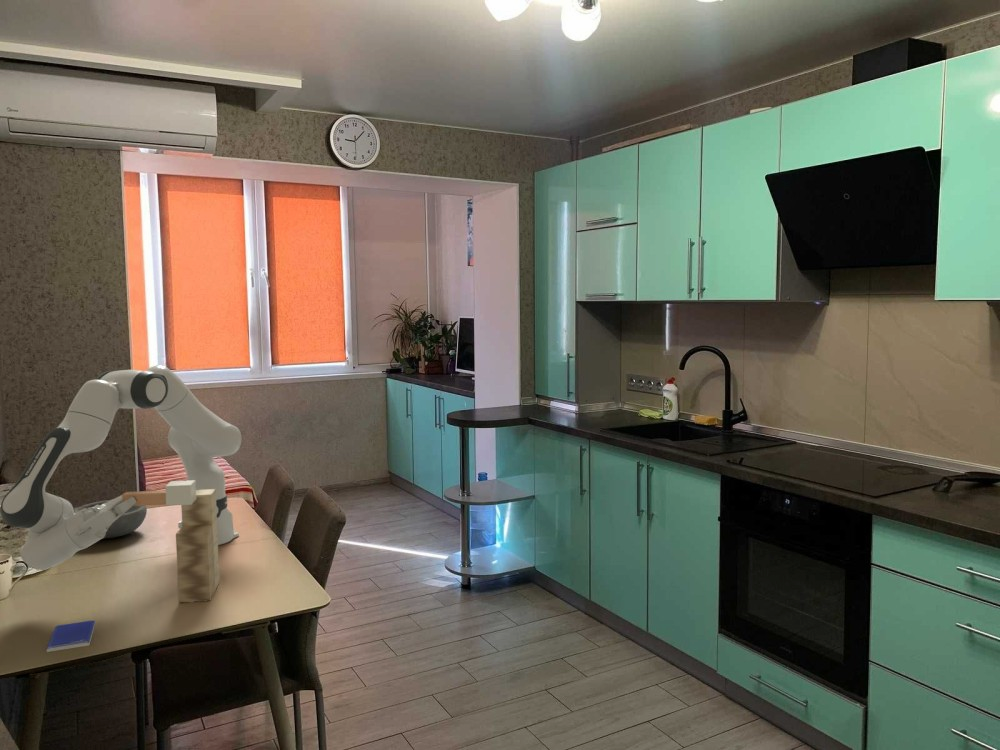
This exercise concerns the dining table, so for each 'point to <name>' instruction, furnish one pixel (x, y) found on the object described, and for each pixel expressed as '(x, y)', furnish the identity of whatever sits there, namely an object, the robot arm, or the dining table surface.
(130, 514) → the bowl
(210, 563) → the beige tall block
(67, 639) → the hard drive
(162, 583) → the dining table surface
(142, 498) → the hammer
